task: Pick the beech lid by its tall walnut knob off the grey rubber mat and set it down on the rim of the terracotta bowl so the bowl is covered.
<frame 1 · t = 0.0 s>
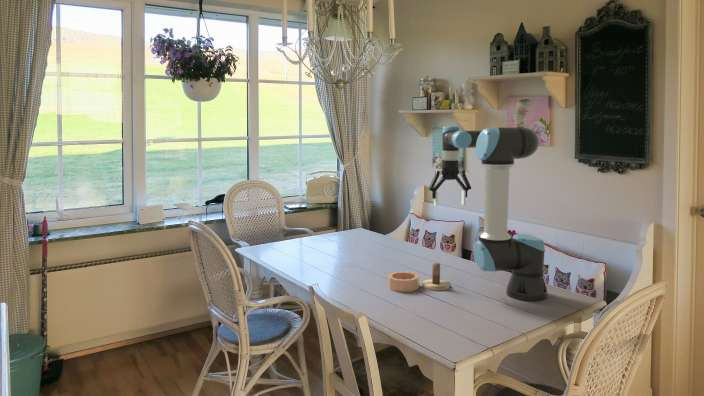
hand: (449, 205, 247), 28 cm above the table, fingers open, 13 cm apart
mat: (435, 288, 213), on the table
bowl: (403, 289, 213), on the table
lid: (436, 286, 213), point 1 cm above the table, touching mat
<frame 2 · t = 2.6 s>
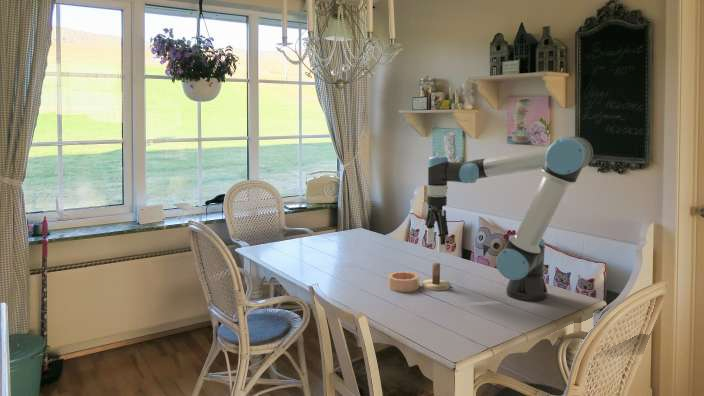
hand: (435, 248, 211), 17 cm above the table, fingers open, 13 cm apart
nothing on the table moved.
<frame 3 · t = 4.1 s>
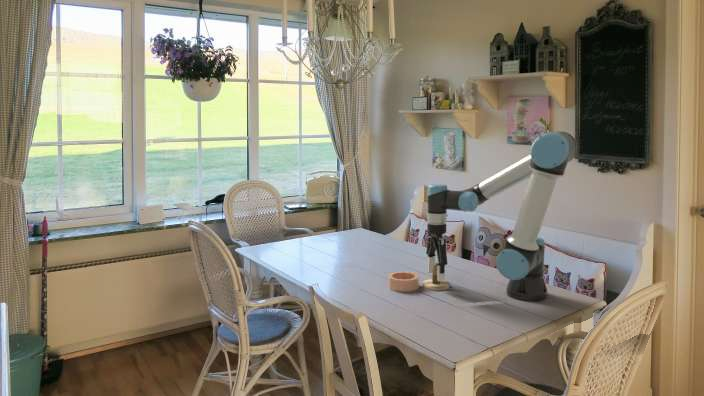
hand: (436, 276, 213), 5 cm above the table, fingers open, 11 cm apart
nothing on the table moved.
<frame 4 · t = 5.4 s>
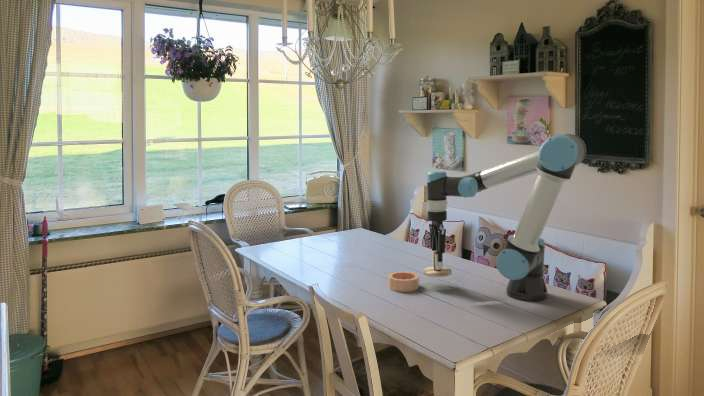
hand: (437, 267, 212), 9 cm above the table, fingers closed on lid, 3 cm apart
lid: (437, 273, 212), point 7 cm above the table, touching gripper
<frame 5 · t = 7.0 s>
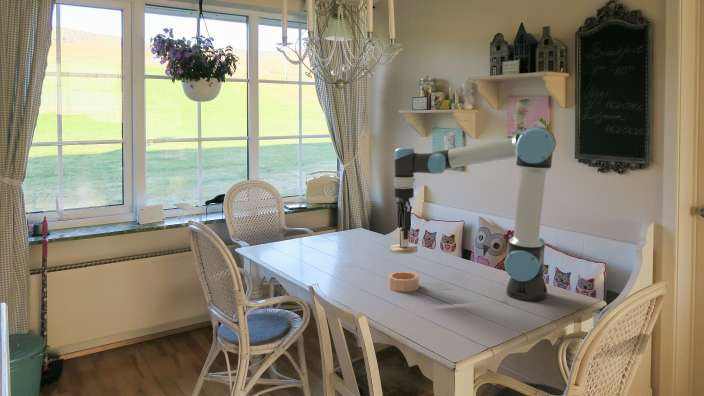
hand: (403, 245, 210), 18 cm above the table, fingers closed on lid, 3 cm apart
lid: (403, 250, 211), point 16 cm above the table, touching gripper
when the fingers open (10 cm above the table, at t = 9.0 s): lid drops 3 cm, resting on bowl.
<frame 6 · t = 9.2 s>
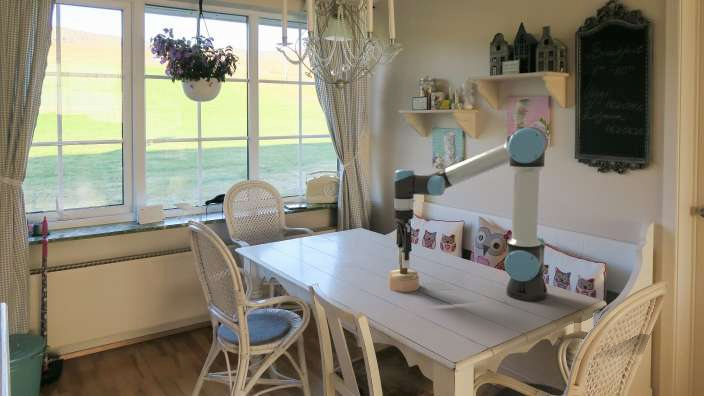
hand: (403, 265, 212), 10 cm above the table, fingers open, 6 cm apart
lid: (403, 276, 212), point 5 cm above the table, touching bowl
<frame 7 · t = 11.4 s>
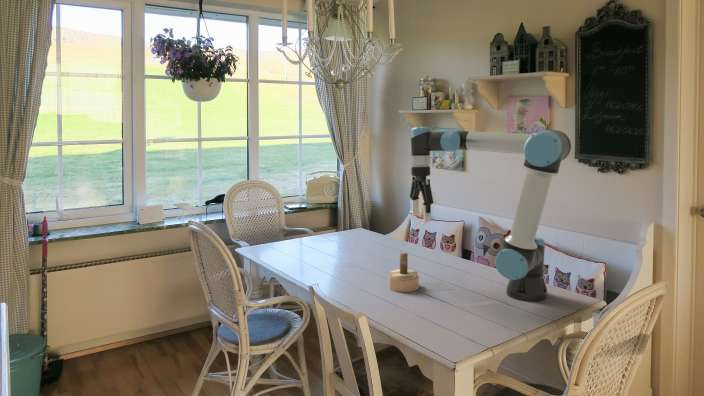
hand: (421, 218, 214), 28 cm above the table, fingers open, 13 cm apart
nothing on the table moved.
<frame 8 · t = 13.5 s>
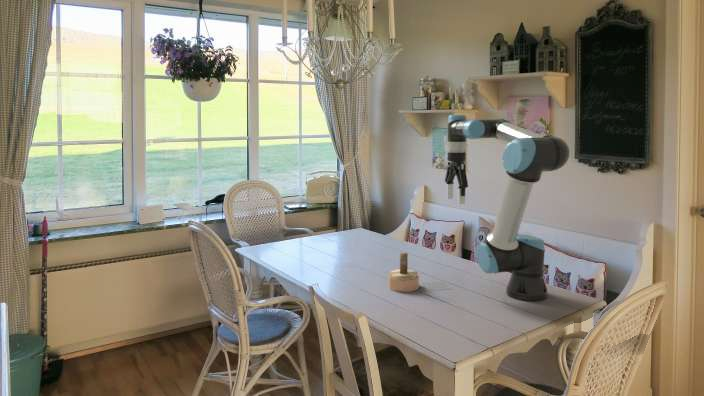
hand: (455, 201, 227), 33 cm above the table, fingers open, 13 cm apart
nothing on the table moved.
at the end: lid 0.1 cm off-centre on the bowl, point 5.5 cm above the bowl's base; lid tilted 0°; the gripper is holding nothing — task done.
